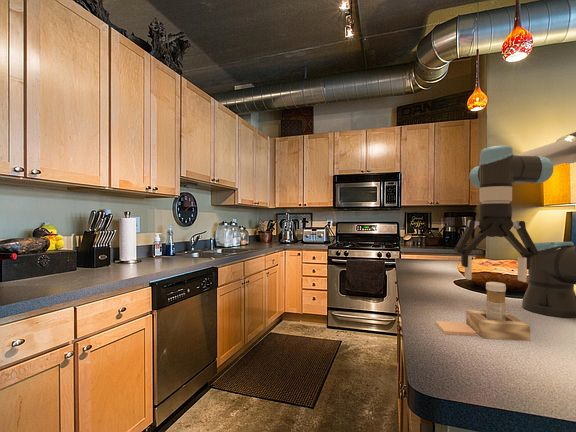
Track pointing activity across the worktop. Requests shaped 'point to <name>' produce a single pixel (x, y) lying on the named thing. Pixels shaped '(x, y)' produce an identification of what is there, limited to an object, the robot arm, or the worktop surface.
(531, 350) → the worktop surface
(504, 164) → the robot arm
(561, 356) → the worktop surface
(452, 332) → the terracotta tile
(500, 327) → the socket block
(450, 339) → the worktop surface
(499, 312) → the sprinkles bottle
